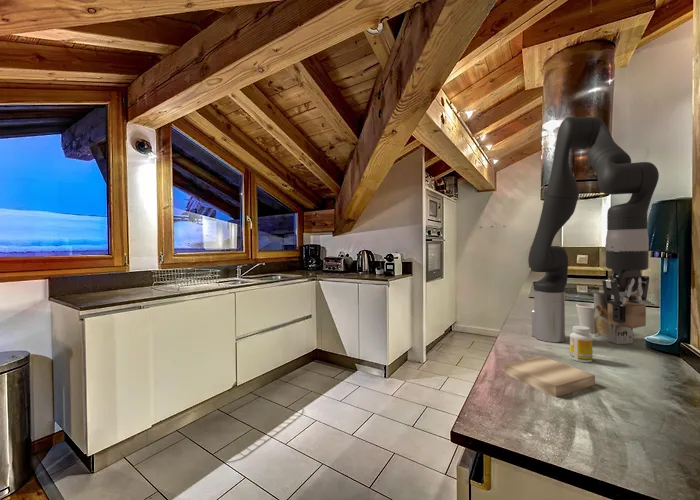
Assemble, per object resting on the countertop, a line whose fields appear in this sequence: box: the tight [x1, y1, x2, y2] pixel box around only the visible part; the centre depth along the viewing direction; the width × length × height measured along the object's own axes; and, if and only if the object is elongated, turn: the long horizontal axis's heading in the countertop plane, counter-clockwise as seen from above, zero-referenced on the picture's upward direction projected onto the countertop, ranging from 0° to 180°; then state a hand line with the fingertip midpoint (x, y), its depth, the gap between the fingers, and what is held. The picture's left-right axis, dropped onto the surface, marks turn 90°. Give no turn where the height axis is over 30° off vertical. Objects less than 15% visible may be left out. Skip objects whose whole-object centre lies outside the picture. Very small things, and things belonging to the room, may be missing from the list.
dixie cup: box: [575, 302, 595, 334], centre depth 119 cm, size 8×8×10 cm
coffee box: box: [593, 291, 634, 345], centre depth 108 cm, size 9×6×16 cm
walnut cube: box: [608, 302, 647, 330], centre depth 73 cm, size 5×5×5 cm
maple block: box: [504, 355, 596, 398], centre depth 80 cm, size 14×14×3 cm
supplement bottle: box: [569, 325, 593, 363], centre depth 92 cm, size 5×5×10 cm
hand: (626, 320), depth 73 cm, fingers closed on walnut cube, 5 cm apart
